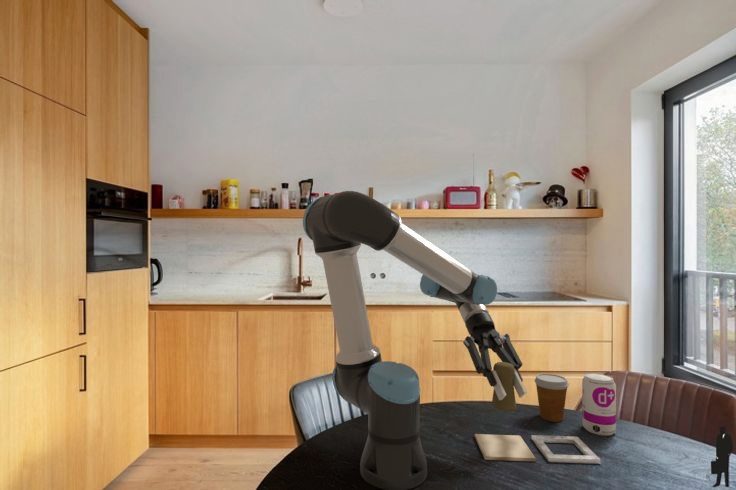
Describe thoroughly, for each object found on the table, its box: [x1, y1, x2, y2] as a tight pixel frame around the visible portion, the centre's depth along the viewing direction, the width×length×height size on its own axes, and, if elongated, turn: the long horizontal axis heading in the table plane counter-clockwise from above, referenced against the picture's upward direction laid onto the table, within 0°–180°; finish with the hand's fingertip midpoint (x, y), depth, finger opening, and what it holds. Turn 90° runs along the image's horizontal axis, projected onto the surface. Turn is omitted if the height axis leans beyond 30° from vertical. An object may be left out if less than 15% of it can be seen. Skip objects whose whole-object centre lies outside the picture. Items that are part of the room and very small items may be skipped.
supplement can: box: [581, 372, 617, 437], centre depth 114 cm, size 8×8×15 cm
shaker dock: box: [530, 434, 601, 465], centre depth 102 cm, size 12×12×1 cm
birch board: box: [474, 433, 537, 462], centre depth 103 cm, size 12×12×1 cm
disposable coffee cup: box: [534, 373, 570, 423], centre depth 123 cm, size 10×10×12 cm
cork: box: [491, 361, 517, 412], centre depth 104 cm, size 6×6×11 cm
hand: (513, 396), depth 100 cm, fingers closed on cork, 5 cm apart
